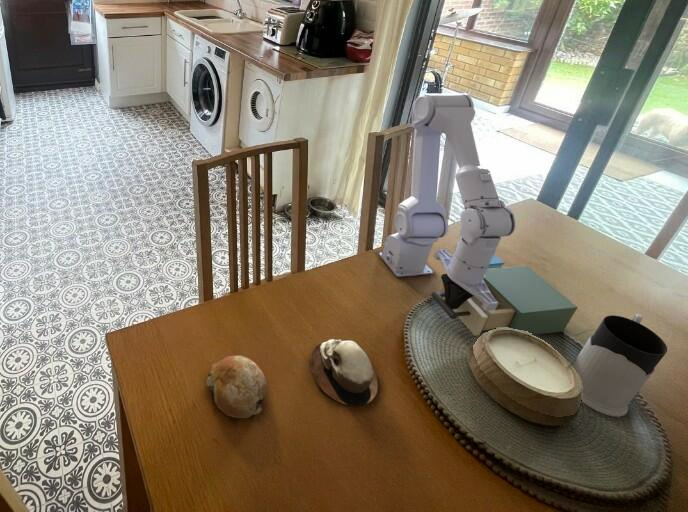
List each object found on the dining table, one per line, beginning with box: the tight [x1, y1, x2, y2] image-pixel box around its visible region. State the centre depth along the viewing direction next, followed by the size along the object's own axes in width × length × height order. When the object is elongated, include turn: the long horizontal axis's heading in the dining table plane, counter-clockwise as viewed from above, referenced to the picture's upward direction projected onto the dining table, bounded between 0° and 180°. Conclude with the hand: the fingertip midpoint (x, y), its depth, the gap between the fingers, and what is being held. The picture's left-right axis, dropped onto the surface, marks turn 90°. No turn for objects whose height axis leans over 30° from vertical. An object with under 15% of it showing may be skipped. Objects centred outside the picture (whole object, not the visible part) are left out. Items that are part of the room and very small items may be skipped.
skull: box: [309, 338, 379, 407], centre depth 76 cm, size 12×10×10 cm
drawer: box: [431, 283, 517, 336], centre depth 87 cm, size 16×10×5 cm, turn 97°
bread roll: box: [206, 355, 268, 419], centre depth 73 cm, size 10×10×8 cm
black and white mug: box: [571, 313, 668, 417], centre depth 72 cm, size 9×14×15 cm, turn 126°
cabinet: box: [483, 265, 579, 336], centre depth 88 cm, size 13×12×7 cm
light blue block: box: [487, 253, 505, 269], centre depth 100 cm, size 5×5×4 cm
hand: (451, 306), depth 87 cm, fingers closed
